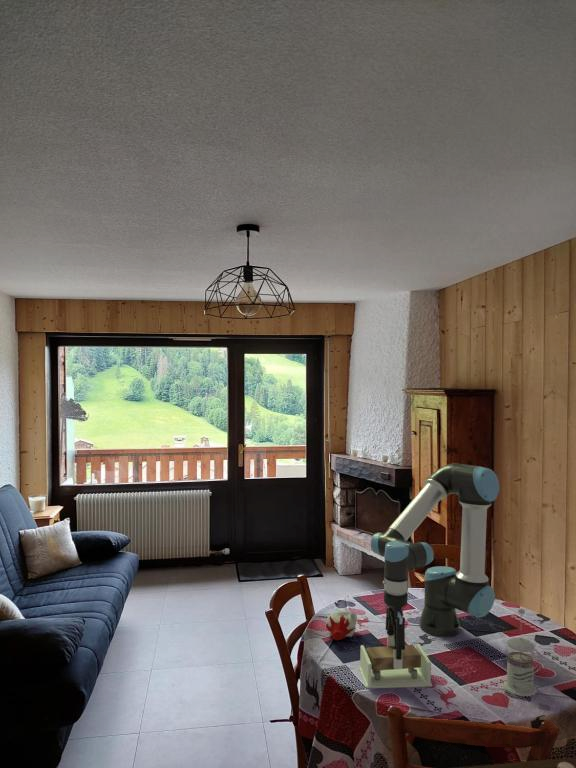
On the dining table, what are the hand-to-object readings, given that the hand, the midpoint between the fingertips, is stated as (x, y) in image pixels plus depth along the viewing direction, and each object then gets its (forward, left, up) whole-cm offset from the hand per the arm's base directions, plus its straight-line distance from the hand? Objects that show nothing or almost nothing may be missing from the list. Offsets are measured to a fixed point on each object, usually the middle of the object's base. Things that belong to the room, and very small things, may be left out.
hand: (394, 661), depth 179 cm
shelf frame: (0, 0, -5) cm, 5 cm away
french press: (-39, +8, -5) cm, 40 cm away
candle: (+13, -28, -5) cm, 31 cm away
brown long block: (0, 0, -1) cm, 1 cm away
